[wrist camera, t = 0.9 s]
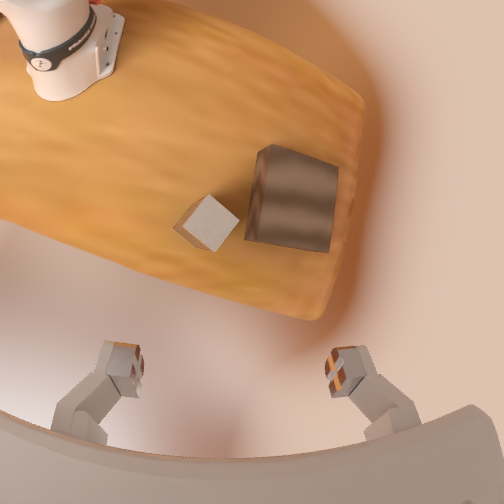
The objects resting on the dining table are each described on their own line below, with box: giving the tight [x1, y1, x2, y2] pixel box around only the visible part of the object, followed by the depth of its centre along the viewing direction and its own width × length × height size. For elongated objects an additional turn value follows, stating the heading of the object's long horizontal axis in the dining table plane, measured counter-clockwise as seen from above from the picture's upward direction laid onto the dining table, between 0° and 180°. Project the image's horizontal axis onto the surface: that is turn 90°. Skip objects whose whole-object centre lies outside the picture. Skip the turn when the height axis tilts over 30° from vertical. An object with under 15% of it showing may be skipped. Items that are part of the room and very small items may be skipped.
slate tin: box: [173, 194, 240, 253], centre depth 41 cm, size 5×5×12 cm
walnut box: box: [244, 144, 339, 253], centre depth 50 cm, size 16×14×6 cm
